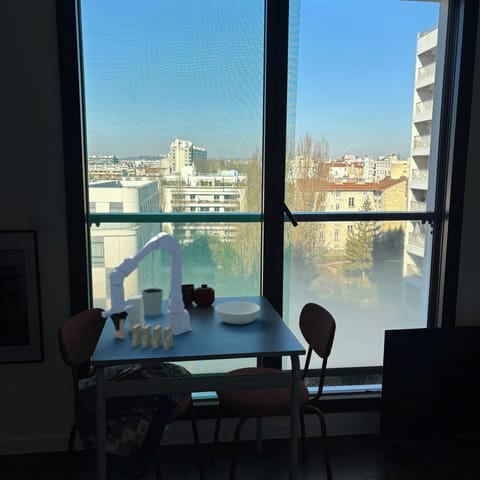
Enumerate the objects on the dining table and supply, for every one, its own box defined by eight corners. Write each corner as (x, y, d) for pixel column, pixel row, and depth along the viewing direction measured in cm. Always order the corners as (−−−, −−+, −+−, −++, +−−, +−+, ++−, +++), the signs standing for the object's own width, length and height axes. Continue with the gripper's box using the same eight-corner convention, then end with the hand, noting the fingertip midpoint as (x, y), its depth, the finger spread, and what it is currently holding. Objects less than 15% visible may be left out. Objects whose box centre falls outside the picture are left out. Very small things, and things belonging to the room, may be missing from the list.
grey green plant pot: (139, 314, 231) (138, 290, 229) (156, 309, 238) (155, 287, 236) (150, 318, 224) (149, 294, 222) (167, 313, 231) (166, 290, 229)
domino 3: (162, 344, 188) (161, 325, 187) (157, 348, 184) (156, 329, 183) (158, 344, 189) (157, 325, 188) (153, 348, 184) (152, 329, 183)
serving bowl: (219, 330, 204) (219, 315, 203) (212, 316, 224) (212, 303, 224) (265, 326, 208) (265, 311, 207) (254, 313, 229) (254, 300, 228)
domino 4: (172, 344, 187) (171, 325, 186) (168, 349, 183) (167, 329, 182) (168, 344, 188) (168, 325, 187) (164, 349, 183) (163, 329, 182)
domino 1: (141, 342, 190) (140, 324, 189) (136, 347, 186) (135, 328, 185) (138, 342, 191) (137, 323, 190) (132, 346, 186) (131, 327, 185)
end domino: (118, 335, 199) (117, 317, 197) (124, 337, 195) (123, 319, 194) (115, 336, 197) (114, 318, 196) (121, 338, 194) (120, 320, 193)
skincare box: (141, 331, 204) (140, 298, 202) (128, 332, 204) (126, 299, 202) (144, 325, 213) (143, 294, 211) (131, 326, 212) (130, 294, 210)
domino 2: (151, 343, 189) (151, 324, 188) (146, 347, 185) (146, 328, 184) (148, 343, 190) (147, 324, 189) (143, 347, 185) (142, 328, 184)
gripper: (127, 293, 202) (128, 323, 204) (97, 300, 191) (99, 332, 193) (136, 296, 197) (138, 327, 199) (106, 303, 187) (108, 335, 188)
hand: (119, 329), depth 196 cm, fingers closed on end domino, 1 cm apart
